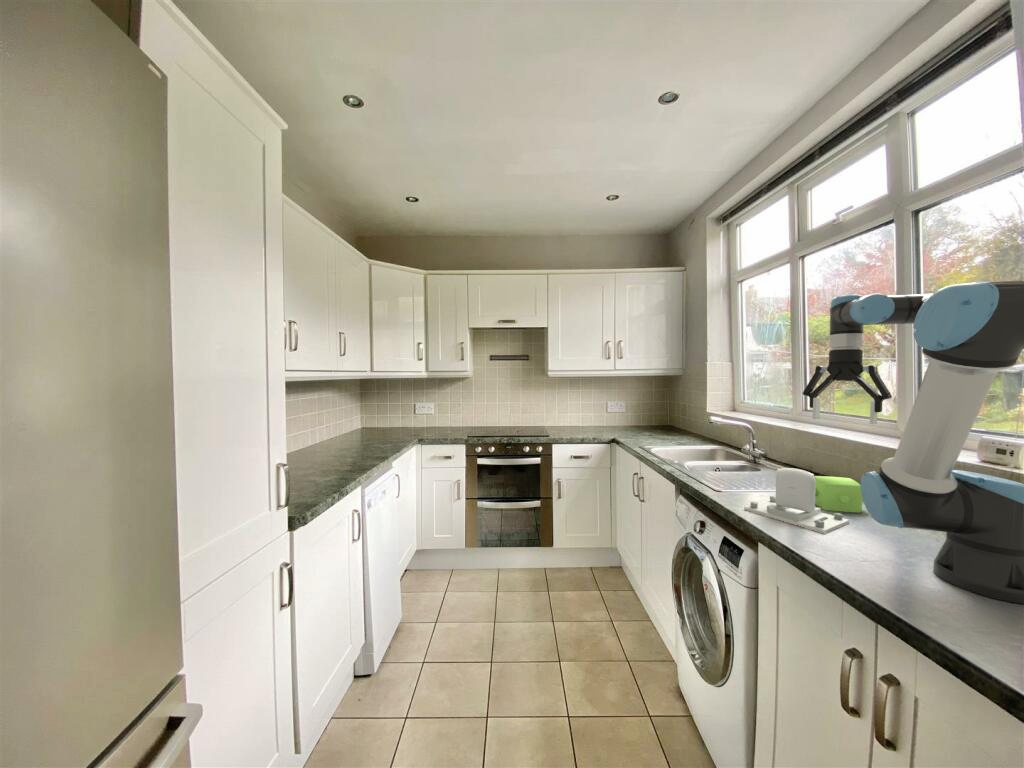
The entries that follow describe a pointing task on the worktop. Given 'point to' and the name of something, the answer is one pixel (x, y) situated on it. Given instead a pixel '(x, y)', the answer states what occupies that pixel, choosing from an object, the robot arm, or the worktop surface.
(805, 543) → the worktop surface
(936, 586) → the worktop surface
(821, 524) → the plate
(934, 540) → the worktop surface
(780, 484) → the photo printer
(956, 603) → the worktop surface
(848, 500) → the gearbox
